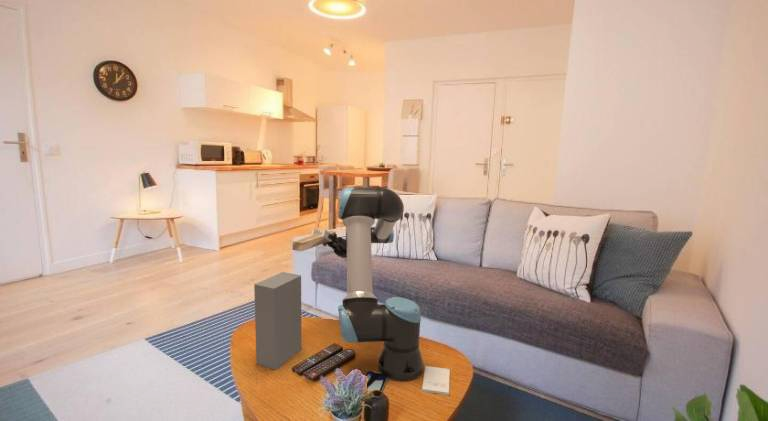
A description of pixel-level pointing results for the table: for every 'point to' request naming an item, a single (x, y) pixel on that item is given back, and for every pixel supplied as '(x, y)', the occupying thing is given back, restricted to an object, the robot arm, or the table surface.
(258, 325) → the tall stand
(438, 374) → the external hard drive
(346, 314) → the robot arm
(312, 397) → the table surface
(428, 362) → the table surface
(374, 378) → the smartphone
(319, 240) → the birch strip
